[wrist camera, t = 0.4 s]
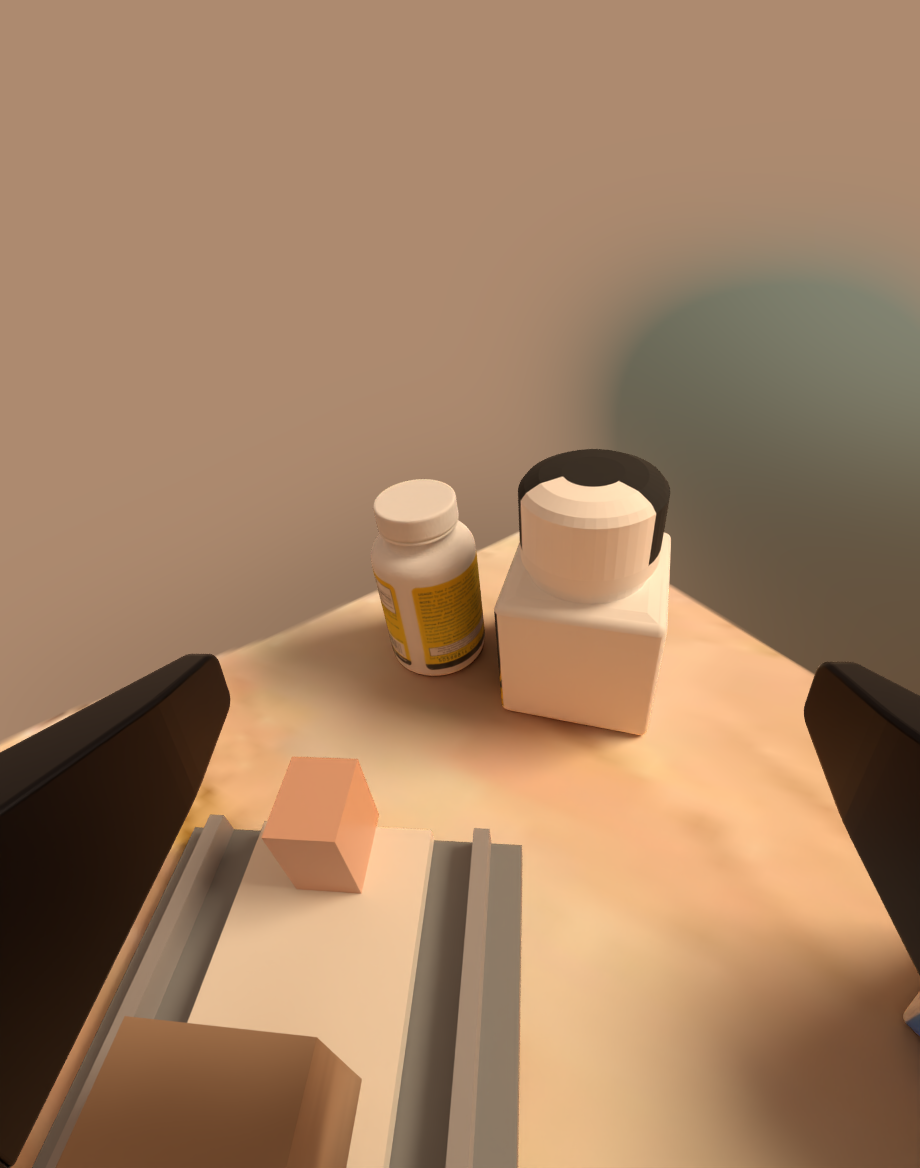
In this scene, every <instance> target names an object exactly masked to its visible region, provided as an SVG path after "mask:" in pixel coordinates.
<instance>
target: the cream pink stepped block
mask: <svg viewBox="0 0 920 1168" xmlns="http://www.w3.org/2000/svg"><path fill="white" fill-rule="evenodd" d="M378 817H379V813H378V811H377V808H376V806H375V803H374V800H373V798H372V795H371V793H370V790H369V787H368V785H367V782H366V779H365V777H364V774H363V772H362V769H361V766H360V764H359V761H358V759H342V758H313V757H292V758H291V761H290V764H289V766H288V769H287V771H286V774H285V777H284V779H283V782H282V785H281V787H280V790H279V792H278V795H277V798H276V800H275V803H274V806H273V808H272V811H271V814H270V816H269V819H268V821H264V824H263V827H262V829H261V832H260V834H259V837H258V840H257V842H256V845H255V848H254V850H253V853H252V855H251V858H250V861H249V863H248V866H247V868H246V871H245V874H244V876H243V879H242V881H241V884H240V887H239V889H238V892H237V894H236V897H235V900H234V902H233V905H232V907H231V910H230V913H229V915H228V918H227V920H226V923H225V926H224V928H223V931H222V933H221V936H220V939H219V941H218V944H217V946H216V949H215V952H214V954H213V957H212V959H211V962H210V965H209V967H208V970H207V972H206V975H205V978H204V980H203V983H202V985H201V988H200V991H199V993H198V996H197V999H196V1001H195V1004H194V1006H193V1009H192V1012H191V1014H190V1017H189V1019H188V1022H187V1023H192V1024H202V1025H211V1026H220V1027H229V1028H238V1029H247V1030H256V1031H265V1032H274V1033H283V1034H293V1035H302V1036H311V1037H317V1038H318V1039H319V1040H321V1041H322V1042H323V1043H324V1044H325V1045H326V1046H327V1047H328V1048H329V1049H330V1050H331V1051H332V1052H333V1053H334V1054H336V1055H337V1056H338V1057H339V1058H340V1059H341V1060H342V1061H343V1062H344V1063H345V1064H346V1065H347V1066H348V1067H349V1068H350V1069H352V1070H353V1071H354V1072H355V1073H356V1074H357V1075H358V1076H359V1077H360V1078H361V1079H362V1082H361V1088H360V1094H359V1099H358V1105H357V1110H356V1116H355V1122H354V1127H353V1133H352V1139H351V1144H350V1150H349V1155H348V1161H347V1167H346V1168H389V1165H390V1157H391V1150H392V1143H393V1136H394V1128H395V1121H396V1114H397V1106H398V1099H399V1092H400V1085H401V1077H402V1070H403V1063H404V1056H405V1048H406V1041H407V1034H408V1026H409V1019H410V1012H411V1005H412V997H413V990H414V983H415V976H416V968H417V961H418V954H419V947H420V939H421V932H422V925H423V917H424V910H425V903H426V896H427V888H428V881H429V874H430V867H431V859H432V852H433V845H434V837H433V833H432V830H428V829H409V828H390V827H376V826H377V822H378Z"/></svg>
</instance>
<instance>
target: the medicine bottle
mask: <svg viewBox="0 0 920 1168" xmlns="http://www.w3.org/2000/svg"><path fill="white" fill-rule="evenodd" d="M669 498H670V487H669V484H668V482H667V480H666V479H665V477H664V476H663V475H662V474H661V472H660V471H659V470H658V469H657V468H656V467H654V466H653V465H652V464H651V463H649V462H647V461H645V460H643V459H641V458H638V457H636V456H633V455H629V454H626V453H621V452H616V451H611V450H601V449H599V450H598V449H587V450H577V451H571V452H567V453H562V454H558V455H555V456H552V457H549V458H547V459H545V460H543V461H541V462H539V463H538V464H536V465H535V466H533V467H532V468H531V469H530V470H529V471H528V472H527V474H526V475H525V476H524V477H523V479H522V480H521V482H520V484H519V488H518V503H519V531H520V543H519V546H518V548H517V551H516V553H515V556H514V559H513V561H512V564H511V566H510V569H509V571H508V574H507V577H506V579H505V582H504V584H503V587H502V590H501V592H500V595H499V597H498V600H497V602H496V605H495V608H494V613H495V626H496V638H497V651H498V663H499V676H500V688H501V700H502V706H503V707H504V708H505V709H507V710H511V711H516V712H521V713H526V714H532V715H537V716H542V717H547V718H553V719H558V720H563V721H568V722H573V723H579V724H584V725H589V726H594V727H600V728H605V729H610V730H615V731H621V732H626V733H631V734H636V735H643V734H645V733H646V732H647V730H648V727H649V722H650V717H651V712H652V706H653V701H654V696H655V691H656V686H657V681H658V676H659V671H660V666H661V660H662V655H663V650H664V645H665V640H666V635H667V621H668V597H669V574H670V551H671V539H670V536H669V535H668V534H667V533H664V528H665V522H666V516H667V509H668V503H669Z"/></svg>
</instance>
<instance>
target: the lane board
mask: <svg viewBox="0 0 920 1168" xmlns="http://www.w3.org/2000/svg"><path fill="white" fill-rule="evenodd" d="M260 832H261V831H253V830H235V829H233V827H232V826H231V825H230V823H229V822H228V821H227V819H226V818H225V816H224V815H210V816H209V818H208V820H207V823H206V825H205V827H204V828H199V827H195V829H194V831H193V833H192V835H191V837H190V839H189V841H188V843H187V845H186V848H185V850H184V852H183V854H182V856H181V858H180V860H179V862H178V864H177V866H176V868H175V871H174V873H173V875H172V877H171V879H170V881H169V883H168V885H167V887H166V889H165V891H164V893H163V896H162V898H161V900H160V902H159V904H158V906H157V908H156V910H155V912H154V914H153V916H152V919H151V921H150V923H149V925H148V927H147V929H146V931H145V933H144V935H143V937H142V939H141V941H140V944H139V946H138V948H137V950H136V952H135V954H134V956H133V958H132V960H131V962H130V964H129V966H128V969H127V971H126V973H125V975H124V977H123V979H122V981H121V983H120V985H119V987H118V989H117V992H116V994H115V996H114V998H113V1000H112V1002H111V1004H110V1006H109V1008H108V1010H107V1012H106V1014H105V1017H104V1019H103V1021H102V1023H101V1025H100V1027H99V1029H98V1031H97V1033H96V1035H95V1037H94V1040H93V1042H92V1044H91V1046H90V1048H89V1050H88V1052H87V1054H86V1056H85V1058H84V1060H83V1062H82V1065H81V1067H80V1069H79V1071H78V1073H77V1075H76V1077H75V1079H74V1081H73V1083H72V1085H71V1088H70V1090H69V1092H68V1094H67V1096H66V1098H65V1100H64V1102H63V1104H62V1106H61V1108H60V1110H59V1113H58V1115H57V1117H56V1119H55V1121H54V1123H53V1125H52V1127H51V1129H50V1131H49V1133H48V1135H47V1138H46V1140H45V1142H44V1144H43V1146H42V1148H41V1150H40V1152H39V1154H38V1156H37V1158H36V1161H35V1163H34V1165H33V1167H32V1168H55V1167H56V1165H57V1163H58V1161H59V1159H60V1157H61V1154H62V1152H63V1150H64V1148H65V1146H66V1143H67V1141H68V1139H69V1137H70V1135H71V1132H72V1130H73V1128H74V1126H75V1124H76V1122H77V1119H78V1117H79V1115H80V1113H81V1111H82V1108H83V1106H84V1104H85V1102H86V1100H87V1097H88V1095H89V1093H90V1091H91V1089H92V1086H93V1084H94V1082H95V1080H96V1078H97V1076H98V1073H99V1071H100V1069H101V1067H102V1065H103V1062H104V1060H105V1058H106V1056H107V1054H108V1051H109V1049H110V1047H111V1045H112V1043H113V1041H114V1038H115V1036H116V1034H117V1032H118V1030H119V1027H120V1025H121V1023H122V1021H123V1019H124V1016H129V1017H138V1018H147V1019H156V1020H165V1021H174V1022H183V1023H187V1022H188V1019H189V1017H190V1014H191V1012H192V1009H193V1006H194V1004H195V1001H196V999H197V996H198V993H199V991H200V988H201V985H202V983H203V980H204V978H205V975H206V972H207V970H208V967H209V965H210V962H211V959H212V957H213V954H214V952H215V949H216V946H217V944H218V941H219V939H220V936H221V933H222V931H223V928H224V926H225V923H226V920H227V918H228V915H229V913H230V910H231V907H232V905H233V902H234V900H235V897H236V894H237V892H238V889H239V887H240V884H241V881H242V879H243V876H244V874H245V871H246V868H247V866H248V863H249V861H250V858H251V855H252V853H253V850H254V848H255V845H256V842H257V840H258V837H259V834H260ZM521 912H522V845H507V844H491V838H490V830H489V829H480V828H474V832H473V843H471V842H453V841H435V840H434V845H433V852H432V859H431V867H430V874H429V881H428V888H427V896H426V903H425V910H424V917H423V925H422V932H421V939H420V947H419V954H418V961H417V968H416V976H415V983H414V990H413V997H412V1005H411V1012H410V1019H409V1026H408V1034H407V1041H406V1048H405V1056H404V1063H403V1070H402V1077H401V1085H400V1092H399V1099H398V1106H397V1114H396V1121H395V1128H394V1136H393V1143H392V1150H391V1157H390V1165H389V1168H518V1122H519V1052H520V982H521Z"/></svg>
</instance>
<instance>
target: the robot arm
mask: <svg viewBox="0 0 920 1168" xmlns="http://www.w3.org/2000/svg"><path fill="white" fill-rule="evenodd" d="M229 707H230V694H229V690H228V687H227V684H226V681H225V678H224V675H223V672H222V669H221V666H220V663H219V661H218V659H217V658H216V657H215V656H214V655H212V654H188V655H185V656H183V657H181V658H179V659H177V660H175V661H173V662H171V663H170V664H168V665H166V666H164V667H162V668H160V669H158V670H156V671H154V672H152V673H151V674H149V675H147V676H145V677H143V678H141V679H139V680H137V681H135V682H133V683H132V684H130V685H128V686H126V687H124V688H122V689H120V690H118V691H116V692H114V693H113V694H111V695H109V696H107V697H105V698H103V699H101V700H99V701H97V702H95V703H94V704H92V705H90V706H88V707H86V708H84V709H82V710H80V711H78V712H76V713H75V714H73V715H71V716H69V717H67V718H65V719H63V720H61V721H59V722H57V723H56V724H54V725H52V726H50V727H48V728H46V729H44V730H42V731H40V732H38V733H37V734H35V735H33V736H31V737H29V738H27V739H25V740H23V741H21V742H19V743H18V744H16V745H14V746H12V747H10V748H8V749H6V750H4V751H2V752H0V1168H11V1166H13V1165H14V1163H15V1162H16V1160H17V1158H18V1156H19V1154H20V1152H21V1150H22V1148H23V1146H24V1144H25V1142H26V1140H27V1138H28V1136H29V1134H30V1132H31V1130H32V1128H33V1126H34V1124H35V1122H36V1120H37V1118H38V1116H39V1114H40V1112H41V1110H42V1107H43V1105H44V1103H45V1101H46V1099H47V1097H48V1095H49V1093H50V1091H51V1089H52V1087H53V1085H54V1083H55V1081H56V1079H57V1077H58V1075H59V1073H60V1071H61V1069H62V1067H63V1065H64V1063H65V1061H66V1059H67V1057H68V1055H69V1053H70V1051H71V1049H72V1047H73V1045H74V1043H75V1041H76V1039H77V1037H78V1035H79V1033H80V1031H81V1029H82V1027H83V1025H84V1023H85V1021H86V1019H87V1017H88V1015H89V1013H90V1011H91V1008H92V1006H93V1004H94V1002H95V1000H96V998H97V996H98V994H99V992H100V990H101V988H102V986H103V984H104V982H105V980H106V978H107V976H108V974H109V972H110V970H111V968H112V966H113V964H114V962H115V960H116V958H117V956H118V954H119V952H120V950H121V948H122V946H123V944H124V942H125V940H126V938H127V936H128V934H129V932H130V930H131V928H132V926H133V924H134V922H135V920H136V918H137V916H138V914H139V912H140V910H141V907H142V905H143V903H144V901H145V899H146V897H147V895H148V893H149V891H150V889H151V887H152V885H153V883H154V881H155V879H156V877H157V875H158V873H159V871H160V869H161V867H162V865H163V863H164V861H165V859H166V857H167V855H168V853H169V851H170V849H171V847H172V845H173V843H174V841H175V839H176V837H177V835H178V833H179V831H180V829H181V827H182V825H183V823H184V821H185V819H186V817H187V815H188V813H189V810H190V808H191V806H192V804H193V802H194V800H195V798H196V795H197V793H198V790H199V788H200V786H201V783H202V781H203V778H204V775H205V773H206V770H207V767H208V765H209V762H210V759H211V756H212V754H213V751H214V748H215V746H216V743H217V740H218V738H219V735H220V732H221V730H222V727H223V724H224V722H225V719H226V716H227V713H228V711H229ZM804 718H805V723H806V726H807V728H808V731H809V734H810V737H811V739H812V742H813V745H814V747H815V750H816V753H817V755H818V758H819V761H820V763H821V766H822V769H823V771H824V774H825V777H826V779H827V782H828V785H829V788H830V790H831V793H832V796H833V798H834V801H835V804H836V806H837V809H838V811H839V814H840V816H841V818H842V821H843V823H844V825H845V827H846V829H847V831H848V834H849V836H850V838H851V840H852V842H853V844H854V846H855V848H856V850H857V852H858V854H859V856H860V858H861V860H862V862H863V864H864V866H865V868H866V870H867V872H868V874H869V876H870V878H871V880H872V882H873V884H874V886H875V888H876V890H877V892H878V894H879V896H880V898H881V900H882V902H883V904H884V906H885V908H886V910H887V912H888V914H889V916H890V918H891V920H892V922H893V924H894V926H895V928H896V930H897V932H898V934H899V936H900V938H901V940H902V942H903V944H904V946H905V948H906V950H907V952H908V954H909V956H910V958H911V960H912V962H913V964H914V966H915V968H916V969H917V971H918V973H919V975H920V696H919V695H917V694H915V693H913V692H911V691H910V690H908V689H906V688H904V687H902V686H900V685H898V684H896V683H894V682H892V681H890V680H888V679H886V678H884V677H882V676H880V675H879V674H877V673H875V672H873V671H871V670H869V669H867V668H865V667H863V666H861V665H859V664H857V663H853V662H825V663H822V664H821V665H820V666H819V667H818V668H817V670H816V673H815V676H814V679H813V682H812V685H811V688H810V691H809V694H808V697H807V700H806V702H805V706H804Z"/></svg>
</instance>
